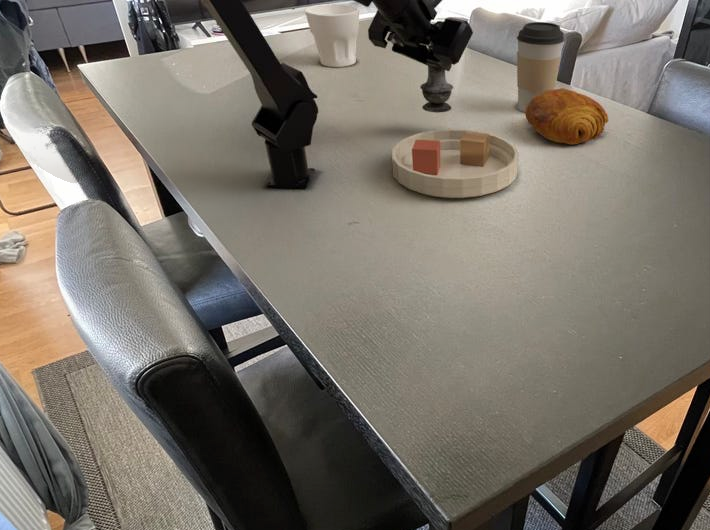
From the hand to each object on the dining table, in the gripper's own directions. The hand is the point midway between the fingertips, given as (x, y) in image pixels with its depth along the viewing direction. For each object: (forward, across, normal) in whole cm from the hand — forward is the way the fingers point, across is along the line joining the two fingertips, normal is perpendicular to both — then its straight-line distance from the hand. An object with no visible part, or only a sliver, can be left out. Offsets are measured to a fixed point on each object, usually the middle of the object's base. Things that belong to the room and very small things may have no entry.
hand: (441, 66), depth 103 cm
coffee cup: (+23, -7, -8) cm, 25 cm away
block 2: (+1, -14, +14) cm, 20 cm away
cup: (+21, +48, -6) cm, 53 cm away
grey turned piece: (+4, 0, +6) cm, 7 cm away
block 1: (-4, -10, +19) cm, 22 cm away
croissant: (+18, -18, -3) cm, 26 cm away
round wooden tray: (-2, -14, +17) cm, 22 cm away
